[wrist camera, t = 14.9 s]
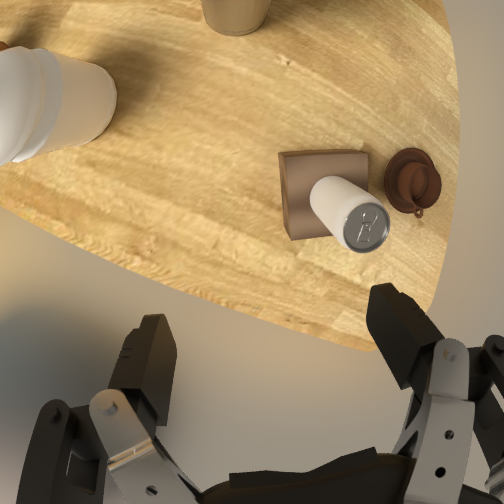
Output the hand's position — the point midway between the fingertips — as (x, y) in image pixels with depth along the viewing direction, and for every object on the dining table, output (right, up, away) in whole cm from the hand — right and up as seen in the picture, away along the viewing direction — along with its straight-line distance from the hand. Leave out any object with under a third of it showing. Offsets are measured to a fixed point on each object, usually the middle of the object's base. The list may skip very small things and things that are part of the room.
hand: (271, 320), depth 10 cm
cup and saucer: (+27, +16, +33) cm, 46 cm away
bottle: (-28, +26, +23) cm, 45 cm away
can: (+10, +10, +27) cm, 31 cm away
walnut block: (+10, +13, +33) cm, 36 cm away
